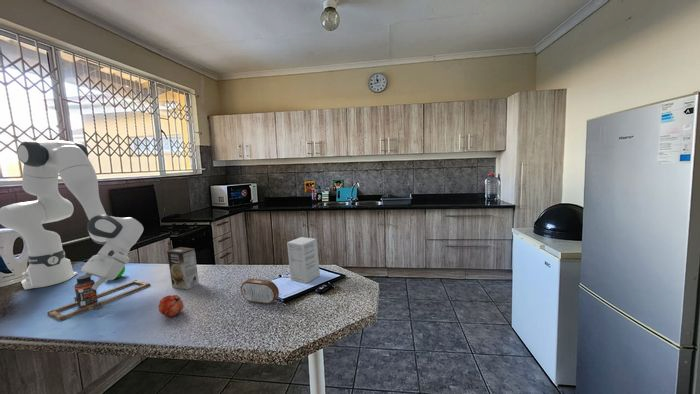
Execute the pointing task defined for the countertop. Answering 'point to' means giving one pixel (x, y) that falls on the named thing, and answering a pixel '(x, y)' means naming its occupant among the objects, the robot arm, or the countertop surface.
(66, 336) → the countertop surface
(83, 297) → the supplement bottle
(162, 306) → the red round fruit
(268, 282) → the tin
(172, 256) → the coffee box
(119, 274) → the ornament
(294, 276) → the supplement box
